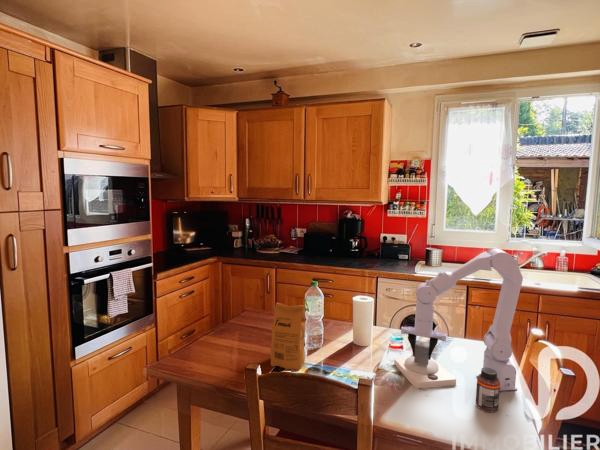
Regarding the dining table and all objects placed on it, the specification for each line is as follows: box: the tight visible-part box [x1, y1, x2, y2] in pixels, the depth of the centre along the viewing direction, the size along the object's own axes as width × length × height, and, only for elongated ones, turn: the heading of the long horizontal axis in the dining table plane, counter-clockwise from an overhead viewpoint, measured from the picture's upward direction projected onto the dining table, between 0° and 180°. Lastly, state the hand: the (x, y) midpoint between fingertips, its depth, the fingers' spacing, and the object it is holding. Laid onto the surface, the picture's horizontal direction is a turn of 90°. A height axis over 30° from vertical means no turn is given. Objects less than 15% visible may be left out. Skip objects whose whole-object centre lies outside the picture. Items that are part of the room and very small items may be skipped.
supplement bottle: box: [475, 367, 501, 413], centre depth 104 cm, size 6×6×11 cm
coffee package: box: [270, 301, 306, 371], centre depth 127 cm, size 10×12×22 cm
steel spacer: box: [413, 339, 429, 365], centre depth 123 cm, size 4×4×6 cm
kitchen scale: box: [393, 356, 457, 390], centre depth 122 cm, size 16×14×3 cm
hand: (421, 356), depth 123 cm, fingers closed on steel spacer, 4 cm apart
